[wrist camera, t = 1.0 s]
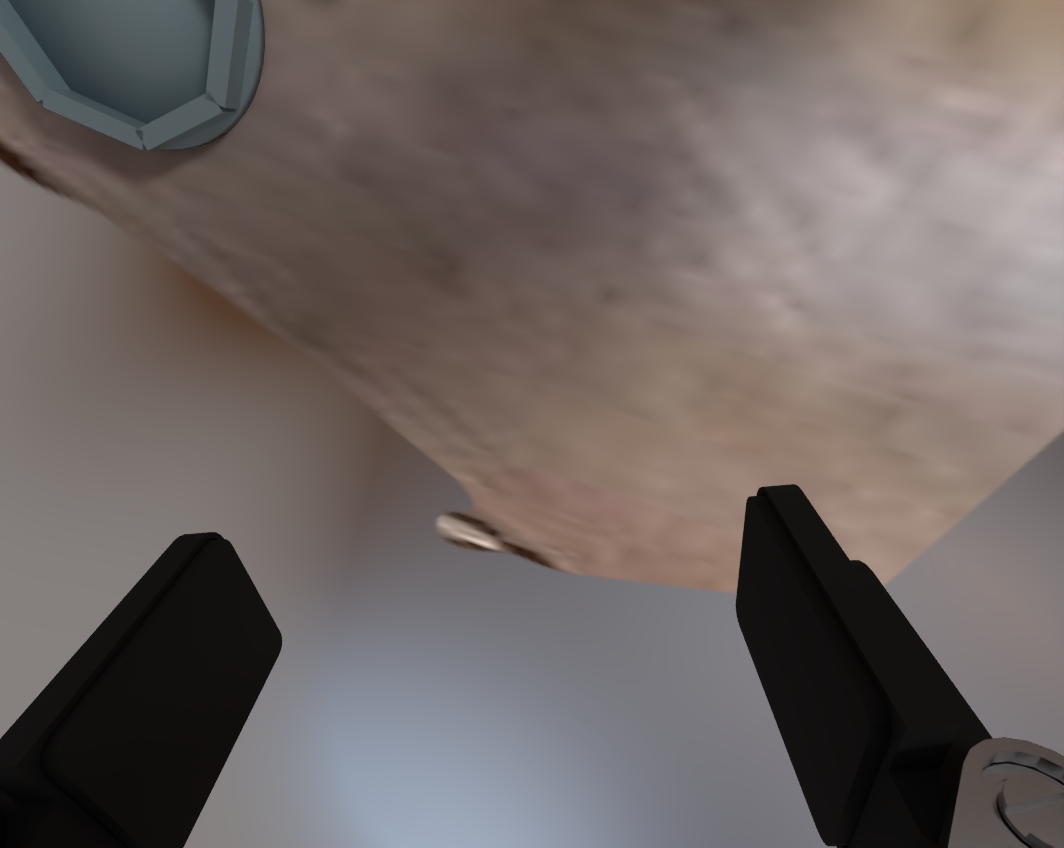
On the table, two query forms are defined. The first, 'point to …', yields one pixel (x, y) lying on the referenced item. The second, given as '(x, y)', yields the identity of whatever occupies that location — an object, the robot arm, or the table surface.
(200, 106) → the grey shallow dish
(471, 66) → the table surface
